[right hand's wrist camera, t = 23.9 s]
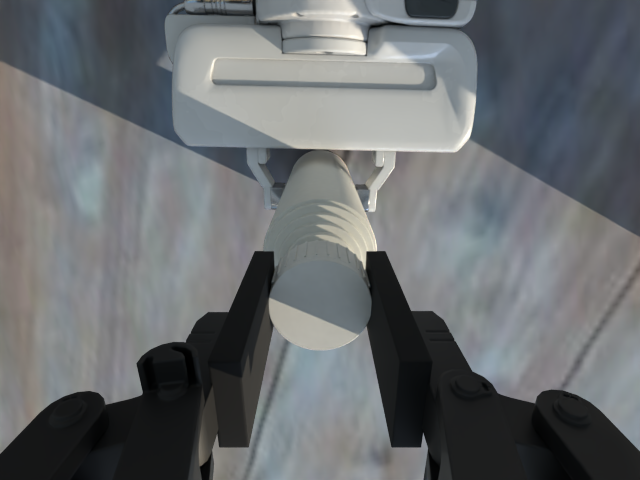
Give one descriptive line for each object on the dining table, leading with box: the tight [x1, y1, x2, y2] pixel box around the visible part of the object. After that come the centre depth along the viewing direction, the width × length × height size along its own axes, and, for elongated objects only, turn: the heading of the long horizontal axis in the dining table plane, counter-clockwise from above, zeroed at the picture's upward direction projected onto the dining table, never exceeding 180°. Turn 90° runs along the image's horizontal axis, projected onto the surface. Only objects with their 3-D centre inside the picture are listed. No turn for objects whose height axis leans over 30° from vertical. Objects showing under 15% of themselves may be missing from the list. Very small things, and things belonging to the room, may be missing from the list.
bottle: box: [263, 150, 377, 270], centre depth 24 cm, size 6×6×22 cm
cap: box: [269, 240, 372, 350], centre depth 14 cm, size 4×4×2 cm
